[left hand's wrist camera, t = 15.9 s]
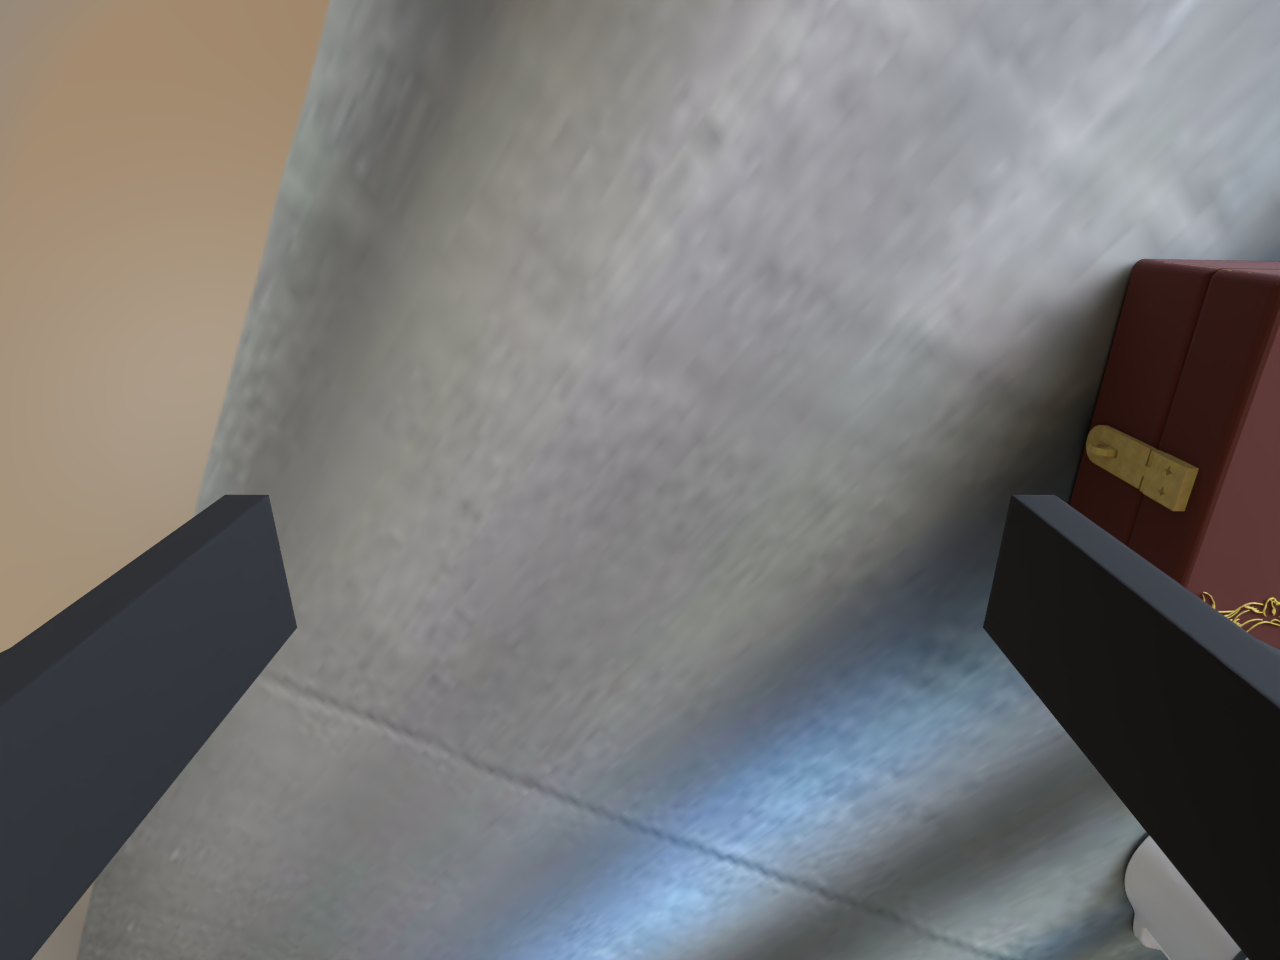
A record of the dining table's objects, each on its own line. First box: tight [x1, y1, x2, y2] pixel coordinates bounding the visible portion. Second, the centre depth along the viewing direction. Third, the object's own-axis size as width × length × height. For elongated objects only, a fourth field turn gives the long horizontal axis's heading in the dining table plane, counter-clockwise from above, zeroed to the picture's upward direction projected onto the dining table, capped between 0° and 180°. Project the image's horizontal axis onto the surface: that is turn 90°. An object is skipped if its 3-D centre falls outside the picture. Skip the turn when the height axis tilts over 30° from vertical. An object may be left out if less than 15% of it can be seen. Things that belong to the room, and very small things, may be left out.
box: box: [1069, 259, 1280, 650], centre depth 39 cm, size 21×16×10 cm
